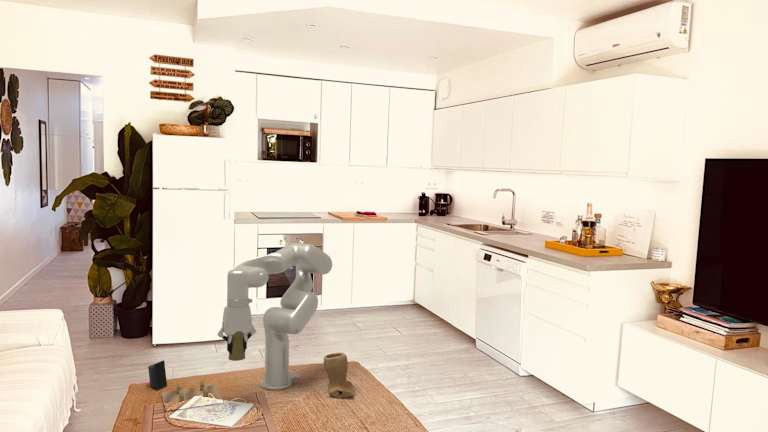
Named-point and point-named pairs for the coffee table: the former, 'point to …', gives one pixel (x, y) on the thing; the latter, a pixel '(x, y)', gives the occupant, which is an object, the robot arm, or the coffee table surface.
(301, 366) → the coffee table surface
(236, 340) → the cork
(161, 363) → the speaker
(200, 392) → the pin holder
